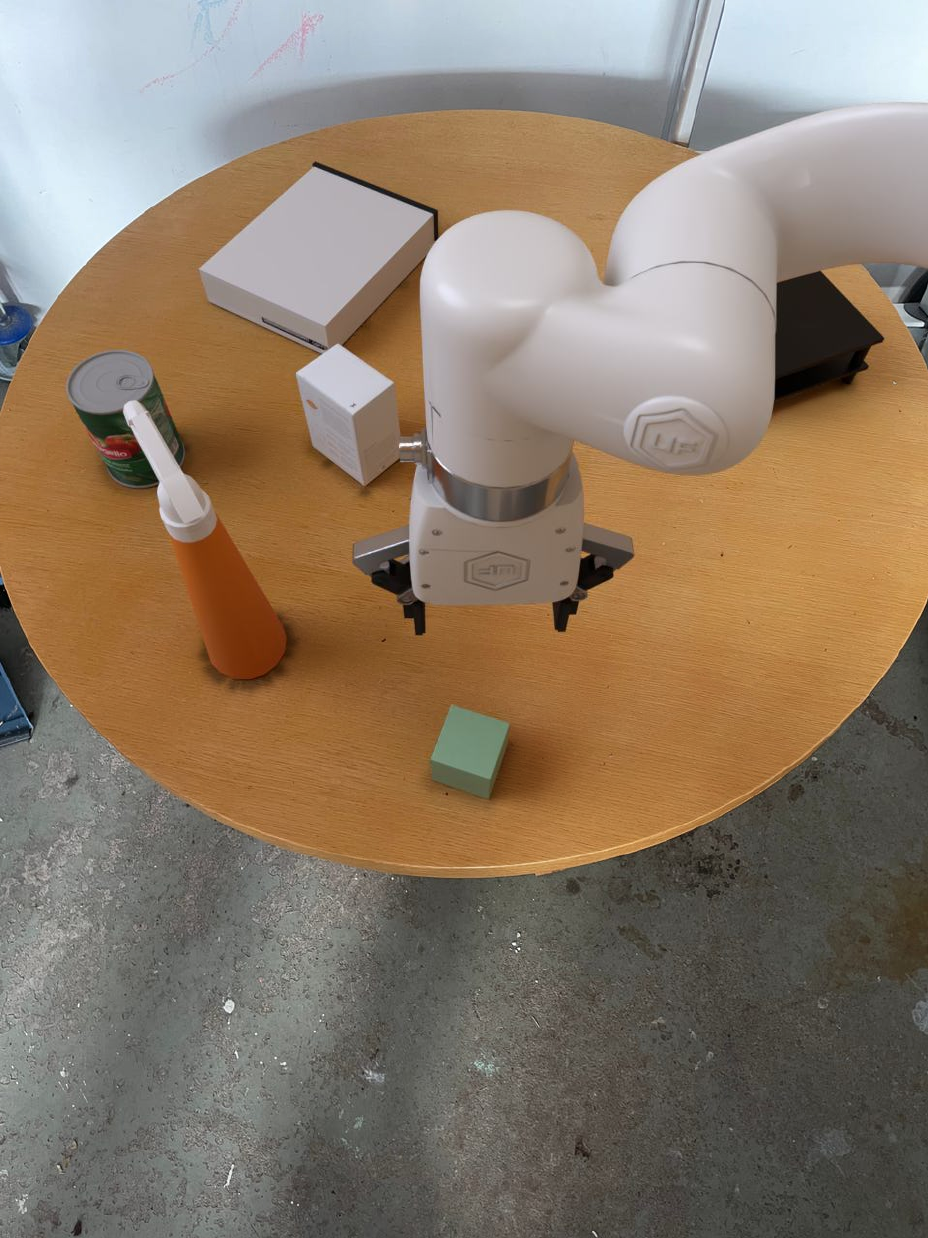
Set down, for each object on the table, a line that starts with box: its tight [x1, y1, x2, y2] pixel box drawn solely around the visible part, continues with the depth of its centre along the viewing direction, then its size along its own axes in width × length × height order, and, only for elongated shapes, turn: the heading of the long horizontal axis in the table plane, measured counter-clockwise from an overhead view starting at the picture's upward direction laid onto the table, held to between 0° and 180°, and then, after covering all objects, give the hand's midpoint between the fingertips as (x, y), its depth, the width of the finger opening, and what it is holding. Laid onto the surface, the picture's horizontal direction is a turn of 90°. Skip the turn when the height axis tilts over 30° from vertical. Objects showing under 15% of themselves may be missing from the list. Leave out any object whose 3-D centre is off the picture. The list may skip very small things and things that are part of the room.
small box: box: [295, 344, 401, 487], centre depth 85 cm, size 8×6×10 cm
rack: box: [774, 271, 885, 403], centre depth 92 cm, size 16×12×8 cm
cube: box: [429, 704, 511, 800], centre depth 71 cm, size 5×5×5 cm
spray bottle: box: [123, 400, 288, 680], centre depth 68 cm, size 7×11×26 cm, turn 33°
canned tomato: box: [65, 349, 186, 489], centre depth 84 cm, size 8×8×11 cm
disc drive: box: [198, 161, 439, 355], centre depth 101 cm, size 18×22×5 cm
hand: (489, 615), depth 60 cm, fingers open, 9 cm apart
